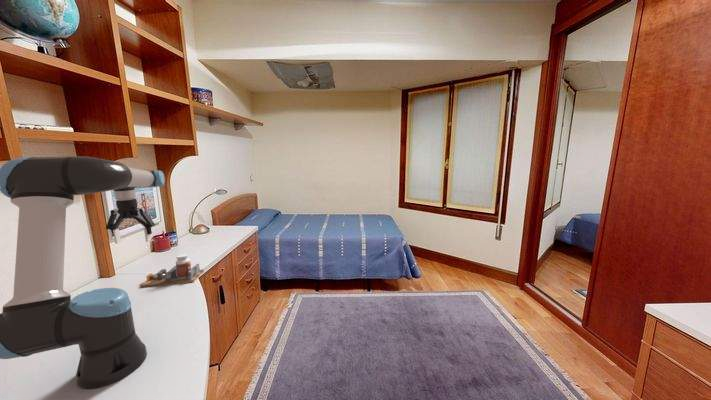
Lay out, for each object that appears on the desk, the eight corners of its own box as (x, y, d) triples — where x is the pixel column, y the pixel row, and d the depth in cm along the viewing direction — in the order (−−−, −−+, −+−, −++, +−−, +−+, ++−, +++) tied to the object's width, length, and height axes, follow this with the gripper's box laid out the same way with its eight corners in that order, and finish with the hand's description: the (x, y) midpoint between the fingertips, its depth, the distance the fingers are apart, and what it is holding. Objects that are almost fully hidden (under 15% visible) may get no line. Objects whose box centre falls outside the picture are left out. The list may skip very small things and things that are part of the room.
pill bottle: (192, 276, 132) (189, 256, 131) (177, 279, 129) (174, 258, 127) (191, 272, 138) (189, 252, 136) (177, 275, 134) (175, 255, 132)
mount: (193, 282, 128) (192, 272, 128) (140, 287, 124) (138, 277, 123) (203, 271, 141) (202, 262, 140) (155, 275, 137) (154, 266, 136)
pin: (163, 278, 130) (163, 274, 130) (146, 280, 129) (146, 276, 129) (167, 276, 133) (166, 272, 133) (150, 277, 132) (149, 273, 132)
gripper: (159, 196, 128) (165, 237, 132) (103, 199, 125) (111, 240, 129) (149, 199, 121) (156, 242, 125) (90, 201, 118) (98, 245, 121)
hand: (133, 241), depth 127 cm, fingers open, 13 cm apart
